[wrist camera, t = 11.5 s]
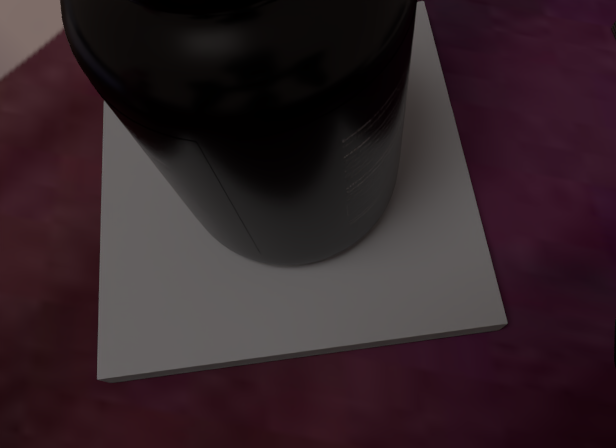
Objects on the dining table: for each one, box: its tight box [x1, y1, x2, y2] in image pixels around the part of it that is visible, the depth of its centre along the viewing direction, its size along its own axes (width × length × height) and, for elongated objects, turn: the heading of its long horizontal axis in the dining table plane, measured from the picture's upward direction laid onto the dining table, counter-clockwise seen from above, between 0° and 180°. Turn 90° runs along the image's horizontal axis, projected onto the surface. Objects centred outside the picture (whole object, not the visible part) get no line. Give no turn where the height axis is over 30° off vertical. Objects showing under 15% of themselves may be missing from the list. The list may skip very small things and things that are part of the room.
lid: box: [97, 1, 508, 383], centre depth 18 cm, size 12×12×1 cm
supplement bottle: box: [60, 0, 417, 265], centre depth 12 cm, size 7×7×12 cm
